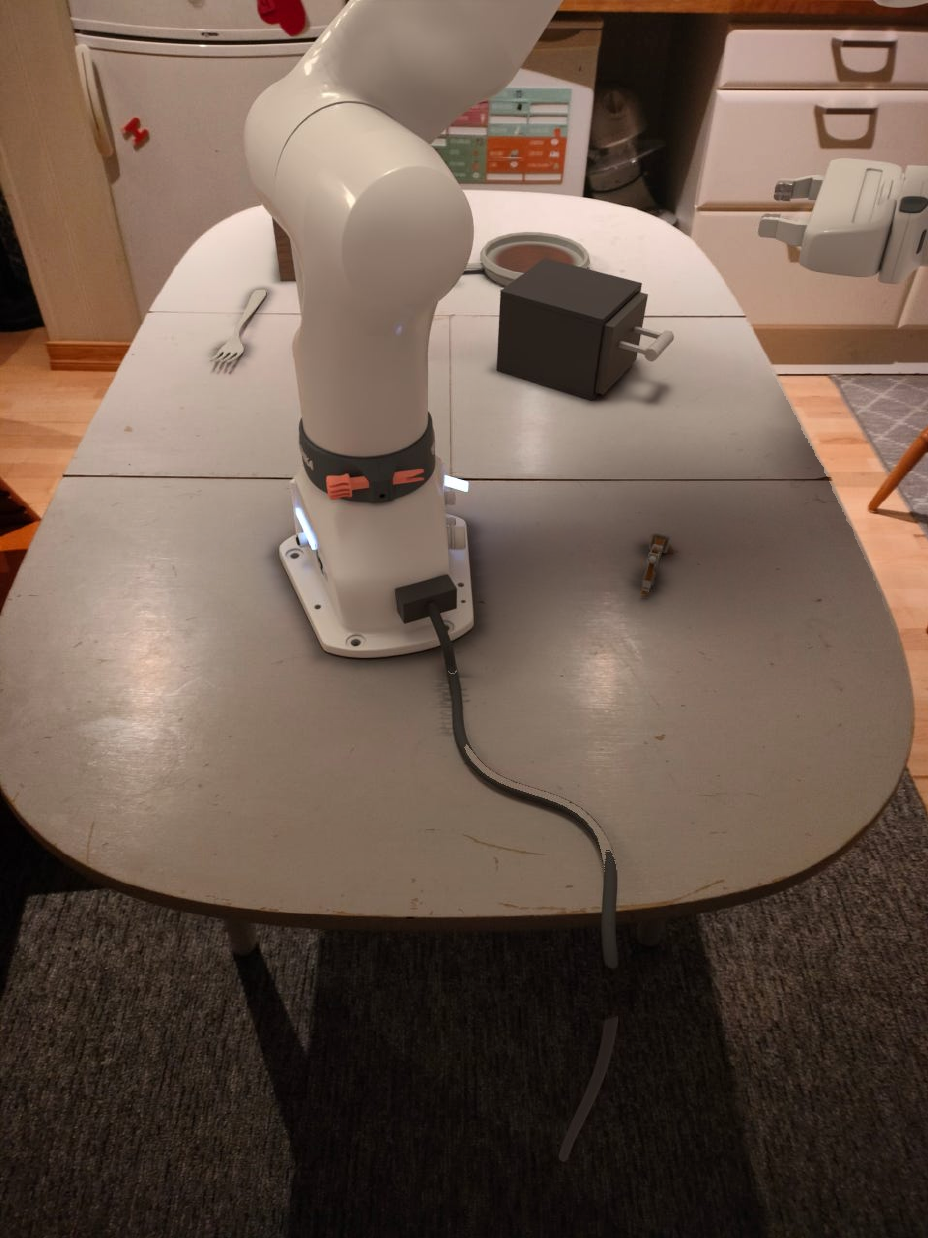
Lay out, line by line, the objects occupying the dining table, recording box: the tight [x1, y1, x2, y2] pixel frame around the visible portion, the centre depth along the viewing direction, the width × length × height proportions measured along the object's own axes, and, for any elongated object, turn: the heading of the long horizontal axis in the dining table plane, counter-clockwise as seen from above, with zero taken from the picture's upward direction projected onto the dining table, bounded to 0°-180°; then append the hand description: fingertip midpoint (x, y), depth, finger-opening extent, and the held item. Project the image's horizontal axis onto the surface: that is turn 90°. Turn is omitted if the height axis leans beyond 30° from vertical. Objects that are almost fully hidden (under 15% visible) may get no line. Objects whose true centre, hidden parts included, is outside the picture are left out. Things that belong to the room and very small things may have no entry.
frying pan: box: [465, 231, 591, 287], centre depth 130 cm, size 17×3×28 cm
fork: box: [208, 289, 267, 364], centre depth 115 cm, size 3×24×2 cm, turn 177°
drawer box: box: [496, 258, 643, 401], centre depth 107 cm, size 14×12×11 cm
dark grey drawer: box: [595, 291, 675, 395], centre depth 105 cm, size 18×10×9 cm, turn 59°
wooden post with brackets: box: [640, 531, 672, 596], centre depth 81 cm, size 2×8×4 cm, turn 160°
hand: (767, 206), depth 88 cm, fingers open, 8 cm apart
